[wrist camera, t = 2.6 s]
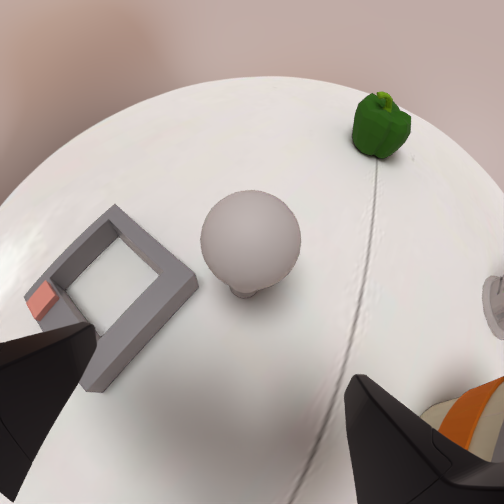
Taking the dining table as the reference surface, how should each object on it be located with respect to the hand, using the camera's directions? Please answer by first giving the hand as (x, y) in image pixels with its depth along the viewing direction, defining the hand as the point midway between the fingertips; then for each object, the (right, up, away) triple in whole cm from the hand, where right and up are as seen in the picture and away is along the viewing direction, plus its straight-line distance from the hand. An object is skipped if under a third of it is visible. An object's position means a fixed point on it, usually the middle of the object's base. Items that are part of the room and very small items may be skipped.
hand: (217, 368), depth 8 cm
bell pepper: (+19, +19, +28) cm, 39 cm away
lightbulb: (0, 0, +16) cm, 16 cm away
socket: (-12, -1, +14) cm, 18 cm away
